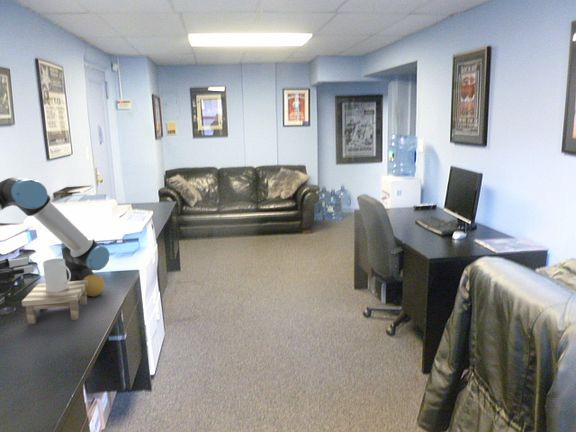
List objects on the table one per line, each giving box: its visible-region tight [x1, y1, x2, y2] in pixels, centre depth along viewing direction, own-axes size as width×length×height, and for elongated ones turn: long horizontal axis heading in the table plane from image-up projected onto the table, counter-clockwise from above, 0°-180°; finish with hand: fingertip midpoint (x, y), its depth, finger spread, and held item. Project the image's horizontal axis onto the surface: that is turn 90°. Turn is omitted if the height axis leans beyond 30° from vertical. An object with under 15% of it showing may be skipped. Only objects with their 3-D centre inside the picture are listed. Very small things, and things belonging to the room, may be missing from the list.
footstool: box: [21, 280, 88, 325], centre depth 192 cm, size 20×20×10 cm
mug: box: [42, 257, 71, 292], centre depth 190 cm, size 12×8×12 cm
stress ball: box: [83, 273, 106, 298], centre depth 210 cm, size 10×10×10 cm
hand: (30, 264), depth 183 cm, fingers open, 13 cm apart
